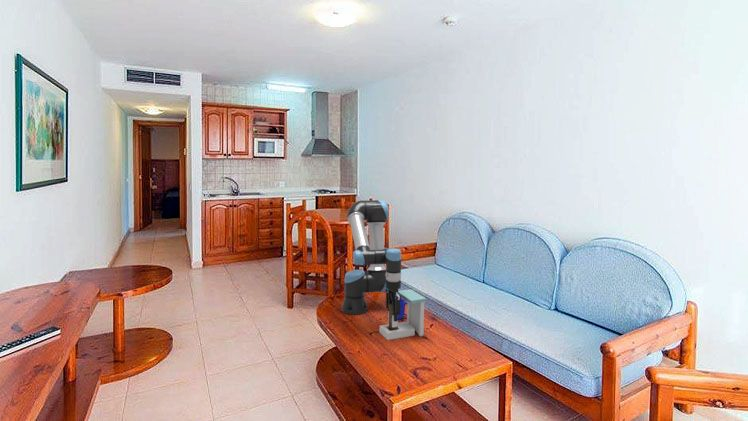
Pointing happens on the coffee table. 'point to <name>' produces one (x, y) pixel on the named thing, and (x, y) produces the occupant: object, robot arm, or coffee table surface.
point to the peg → (391, 318)
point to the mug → (402, 309)
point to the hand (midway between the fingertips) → (392, 325)
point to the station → (408, 317)
